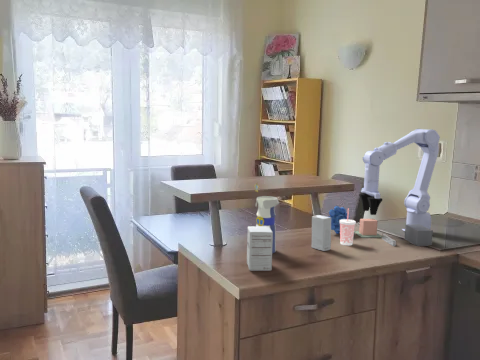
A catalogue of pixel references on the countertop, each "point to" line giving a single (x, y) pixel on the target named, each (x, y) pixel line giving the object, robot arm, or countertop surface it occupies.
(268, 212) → the spray bottle
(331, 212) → the grapes
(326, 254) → the countertop surface
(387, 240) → the bar
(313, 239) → the skincare box
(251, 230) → the supplement box
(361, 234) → the mat
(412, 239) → the gray rectangular block
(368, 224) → the salmon pink block
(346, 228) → the beverage cup
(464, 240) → the countertop surface
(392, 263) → the countertop surface
